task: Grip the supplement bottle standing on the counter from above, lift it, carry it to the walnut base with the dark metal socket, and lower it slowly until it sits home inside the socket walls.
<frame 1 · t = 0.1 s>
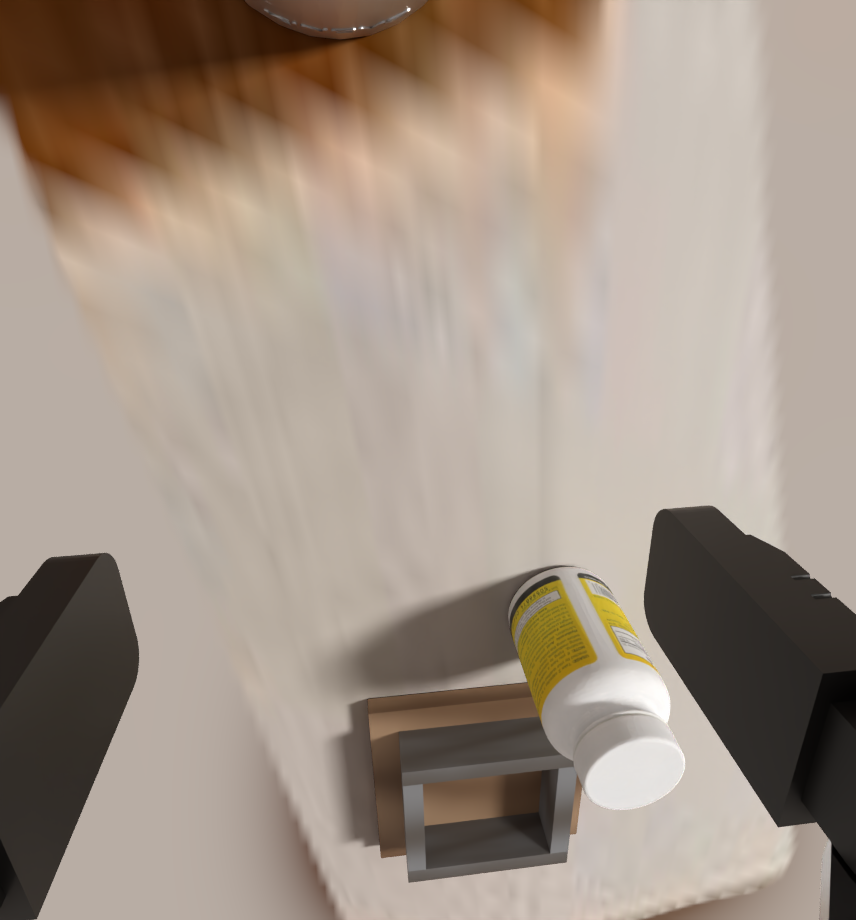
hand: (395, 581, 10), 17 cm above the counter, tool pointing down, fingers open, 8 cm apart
supplement bottle: (557, 604, 33), on the counter
socket base: (478, 763, 37), on the counter
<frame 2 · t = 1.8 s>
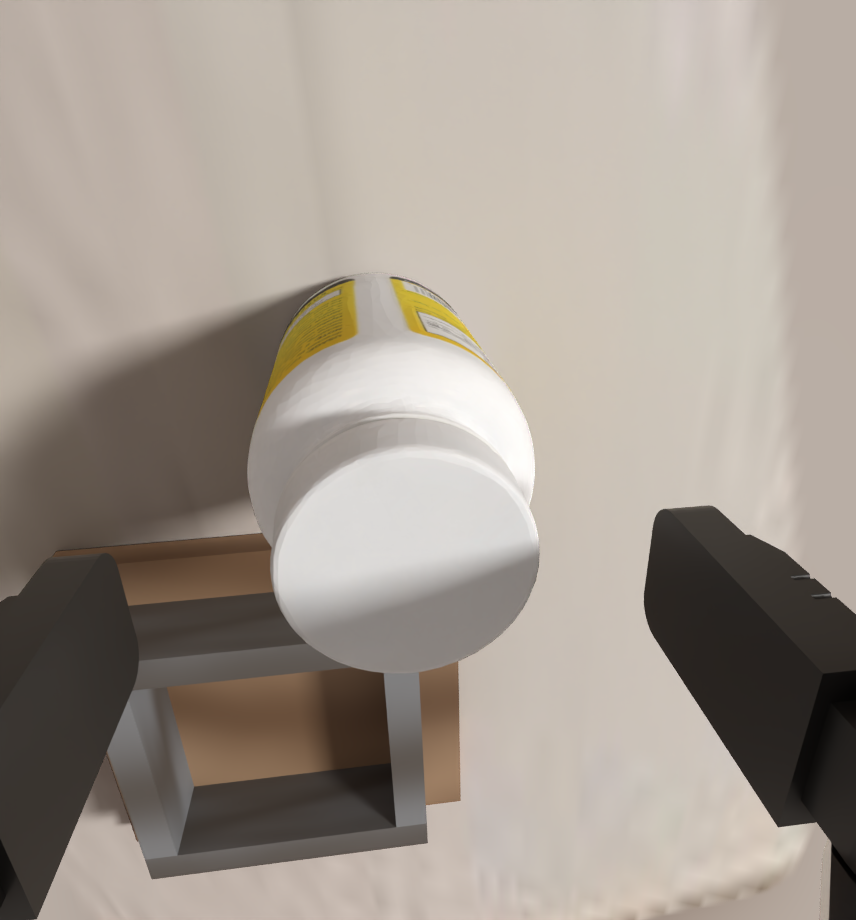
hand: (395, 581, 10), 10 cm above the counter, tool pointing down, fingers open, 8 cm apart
supplement bottle: (377, 367, 18), on the counter
socket base: (284, 680, 22), on the counter
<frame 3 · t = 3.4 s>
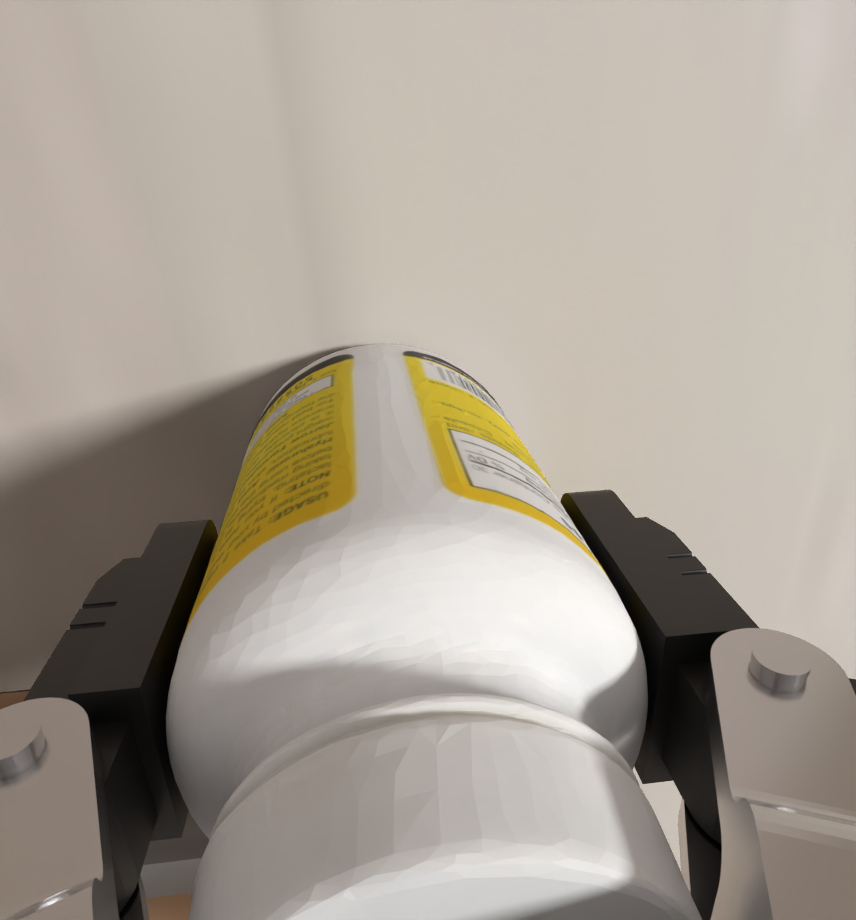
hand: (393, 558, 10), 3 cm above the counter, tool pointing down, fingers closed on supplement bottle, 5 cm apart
supplement bottle: (383, 462, 14), on the counter, touching gripper
socket base: (259, 841, 18), on the counter
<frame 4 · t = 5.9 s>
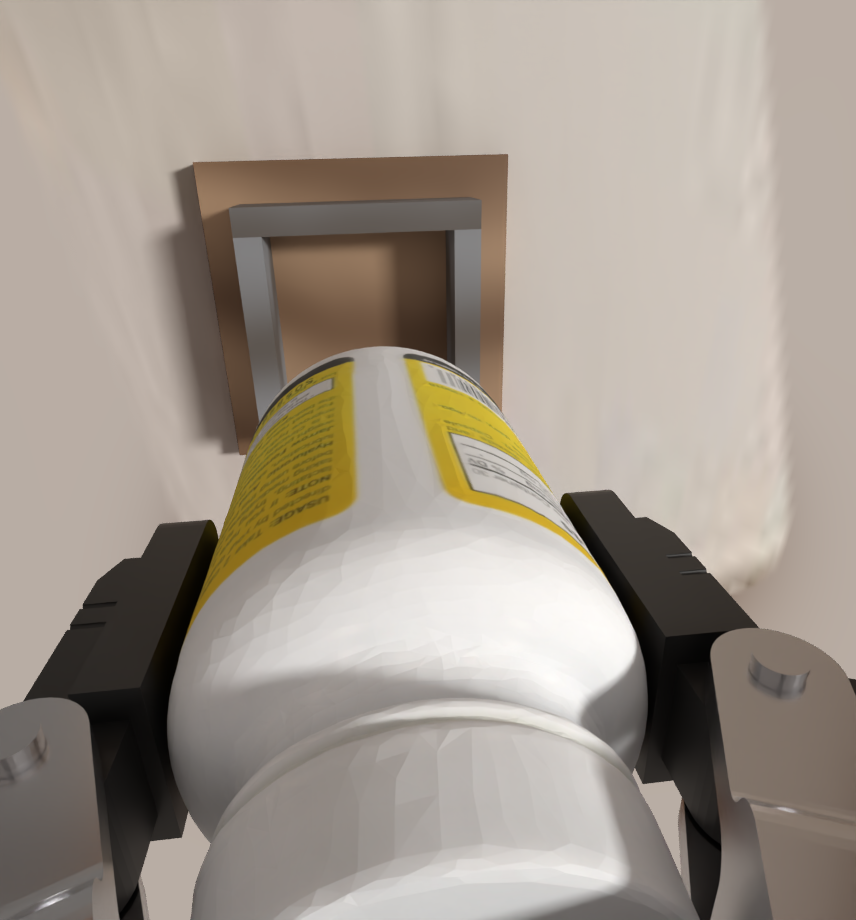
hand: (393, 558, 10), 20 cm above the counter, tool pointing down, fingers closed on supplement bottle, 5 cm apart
supplement bottle: (383, 464, 14), point 16 cm above the counter, touching gripper
socket base: (363, 310, 28), on the counter
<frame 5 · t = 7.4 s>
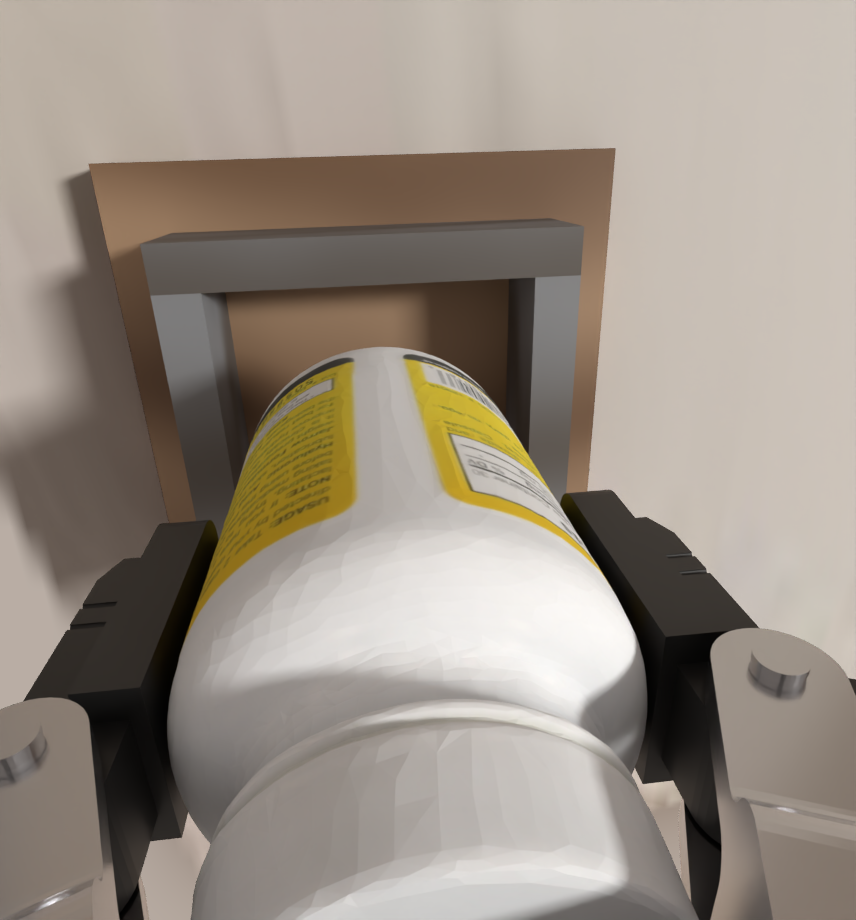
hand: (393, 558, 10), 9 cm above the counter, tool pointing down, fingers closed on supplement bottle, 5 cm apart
supplement bottle: (383, 465, 14), point 5 cm above the counter, touching gripper
socket base: (376, 392, 18), on the counter
when the fingers open (6 cm above the counter, at t = 8.8 s): supplement bottle drops 1 cm, resting on socket base.
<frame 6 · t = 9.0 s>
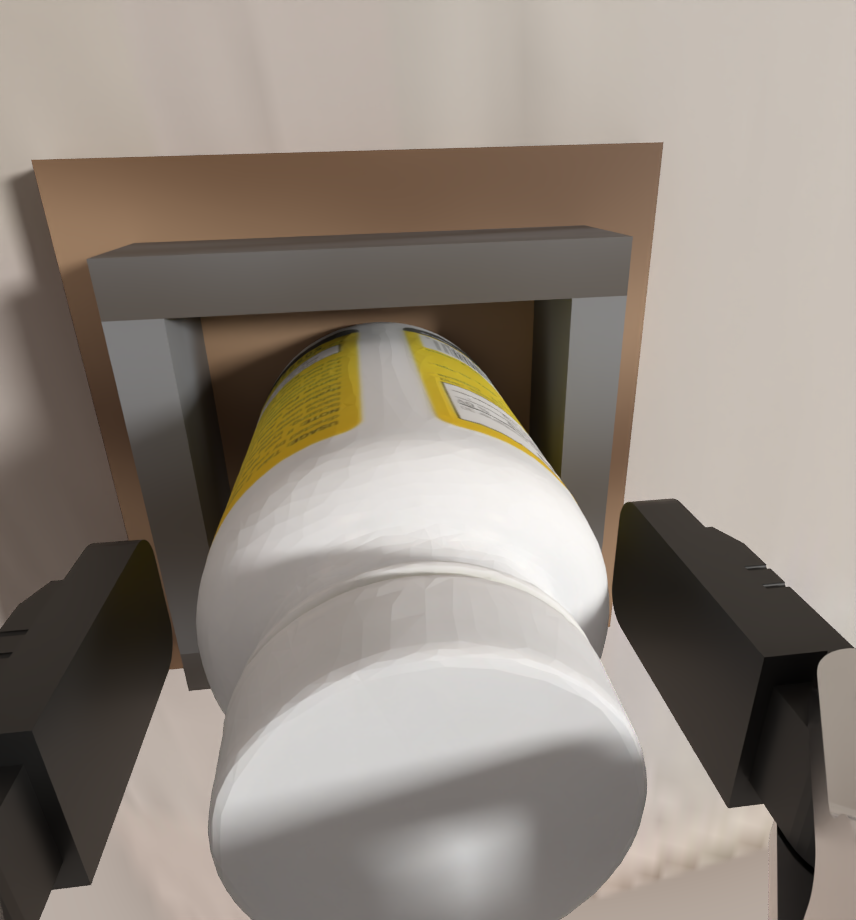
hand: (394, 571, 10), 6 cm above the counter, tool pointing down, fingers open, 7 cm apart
supplement bottle: (383, 434, 15), point 1 cm above the counter, touching socket base
socket base: (377, 425, 16), on the counter
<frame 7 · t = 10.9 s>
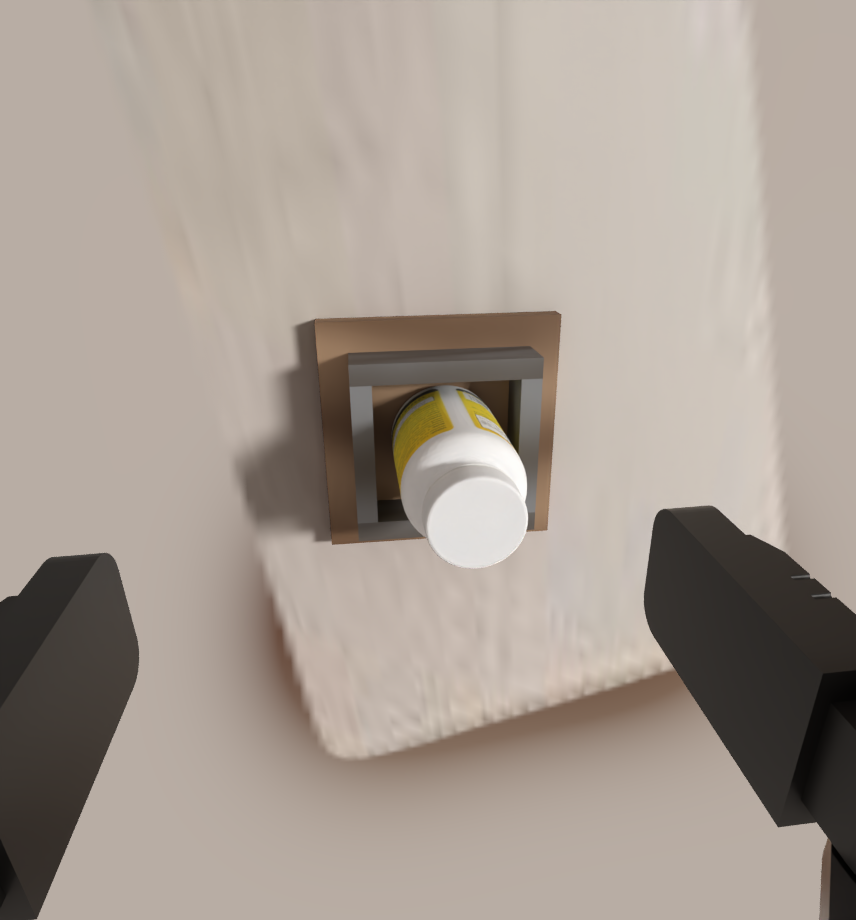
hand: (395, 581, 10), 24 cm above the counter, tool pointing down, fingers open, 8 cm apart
supplement bottle: (442, 432, 33), point 1 cm above the counter, touching socket base
socket base: (438, 429, 34), on the counter
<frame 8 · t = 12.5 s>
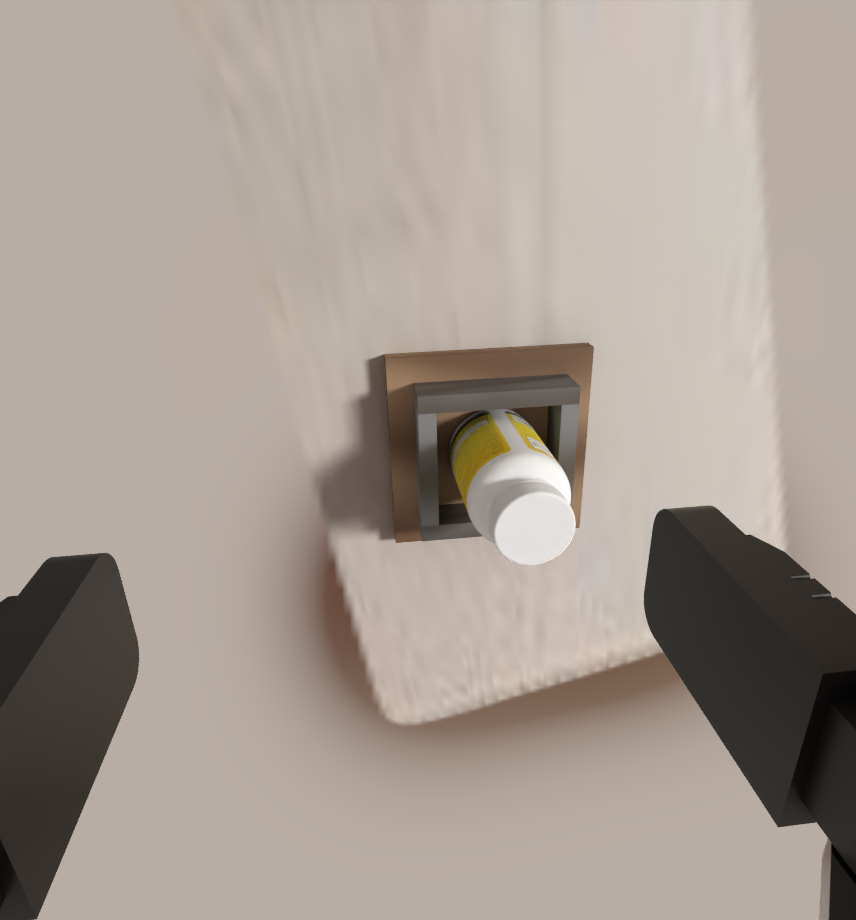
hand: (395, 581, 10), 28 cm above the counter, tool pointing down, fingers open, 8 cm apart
supplement bottle: (491, 446, 39), point 1 cm above the counter, touching socket base
socket base: (486, 443, 40), on the counter
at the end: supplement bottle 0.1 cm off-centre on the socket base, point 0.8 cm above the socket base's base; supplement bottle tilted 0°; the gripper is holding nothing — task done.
